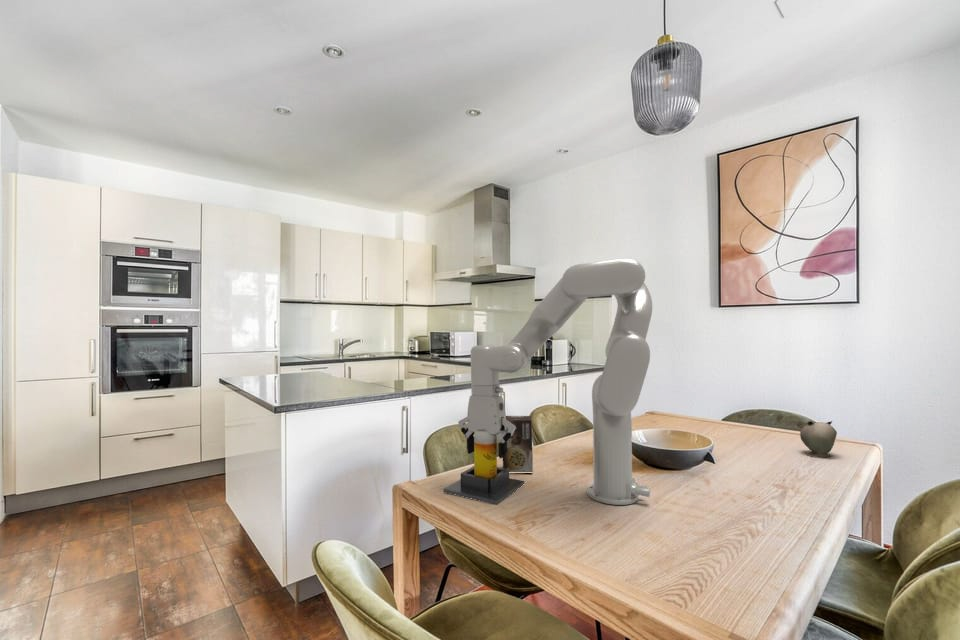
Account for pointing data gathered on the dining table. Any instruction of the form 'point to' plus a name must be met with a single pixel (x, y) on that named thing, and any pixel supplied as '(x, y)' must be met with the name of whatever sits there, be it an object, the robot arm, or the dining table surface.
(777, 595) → the dining table surface
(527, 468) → the coffee box
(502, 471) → the mount
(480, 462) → the beer can
